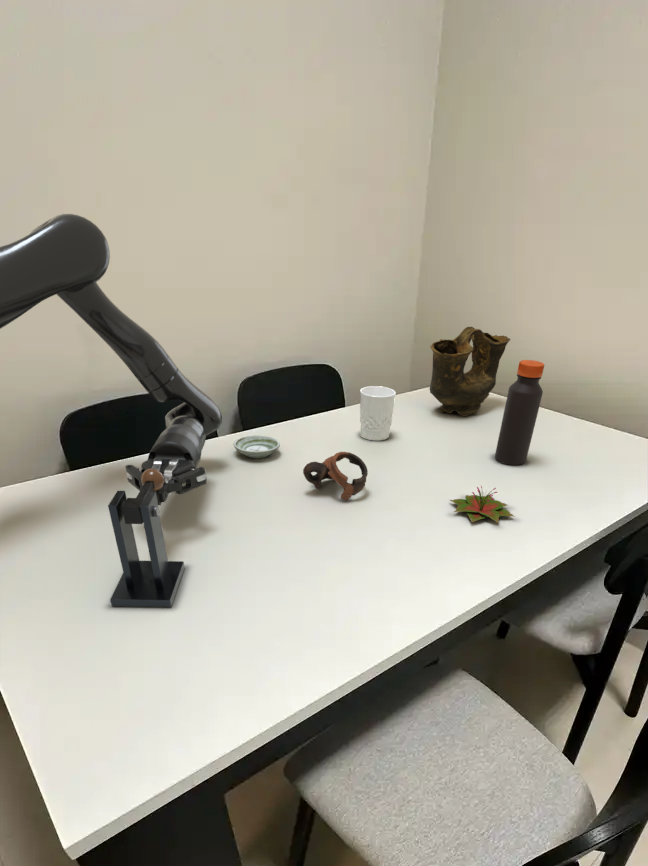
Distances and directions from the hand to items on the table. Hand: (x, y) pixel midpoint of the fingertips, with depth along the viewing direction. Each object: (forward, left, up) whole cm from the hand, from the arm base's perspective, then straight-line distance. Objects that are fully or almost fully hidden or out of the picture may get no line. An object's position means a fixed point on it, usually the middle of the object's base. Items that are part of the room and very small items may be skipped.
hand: (153, 499), depth 85 cm
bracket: (0, -9, -9) cm, 13 cm away
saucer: (+11, +41, -9) cm, 43 cm away
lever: (0, -4, +1) cm, 4 cm away
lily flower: (+54, +17, -9) cm, 57 cm away
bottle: (+66, +42, -9) cm, 79 cm away
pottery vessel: (+61, +74, -9) cm, 97 cm away
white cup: (+37, +54, -9) cm, 66 cm away
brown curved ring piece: (+27, +24, -9) cm, 37 cm away
